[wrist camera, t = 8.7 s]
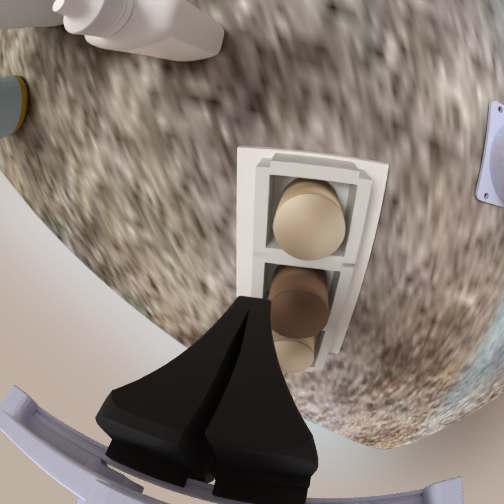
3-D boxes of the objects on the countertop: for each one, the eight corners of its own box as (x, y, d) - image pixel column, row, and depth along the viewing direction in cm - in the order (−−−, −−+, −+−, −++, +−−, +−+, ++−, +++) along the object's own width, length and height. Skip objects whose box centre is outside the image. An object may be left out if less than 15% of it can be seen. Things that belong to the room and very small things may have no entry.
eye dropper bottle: (196, 83, 16) (65, 80, 6) (143, 47, 15) (10, 35, 5) (236, 36, 14) (139, -33, 4) (178, 2, 13) (60, -51, 3)
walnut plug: (331, 260, 19) (334, 295, 16) (322, 303, 21) (322, 341, 18) (274, 253, 20) (266, 287, 16) (271, 297, 22) (263, 334, 18)
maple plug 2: (318, 309, 23) (318, 344, 19) (311, 340, 25) (308, 375, 21) (271, 303, 23) (264, 338, 20) (268, 335, 25) (261, 369, 22)
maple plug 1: (342, 179, 17) (351, 199, 14) (334, 234, 19) (338, 264, 16) (281, 172, 18) (275, 190, 14) (278, 227, 20) (270, 256, 16)
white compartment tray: (385, 162, 17) (401, 175, 14) (338, 347, 26) (338, 375, 23) (240, 145, 18) (226, 154, 15) (238, 335, 27) (230, 361, 24)
